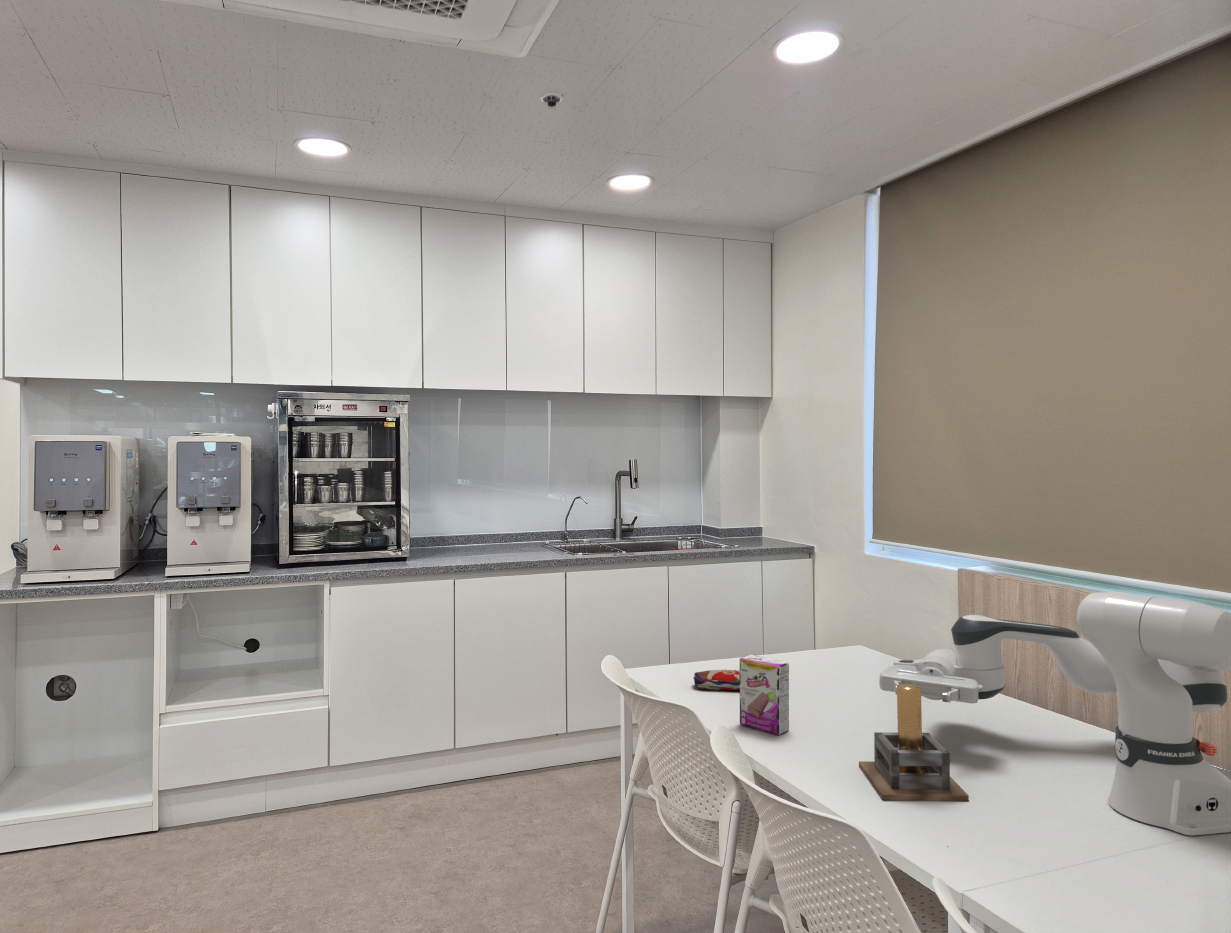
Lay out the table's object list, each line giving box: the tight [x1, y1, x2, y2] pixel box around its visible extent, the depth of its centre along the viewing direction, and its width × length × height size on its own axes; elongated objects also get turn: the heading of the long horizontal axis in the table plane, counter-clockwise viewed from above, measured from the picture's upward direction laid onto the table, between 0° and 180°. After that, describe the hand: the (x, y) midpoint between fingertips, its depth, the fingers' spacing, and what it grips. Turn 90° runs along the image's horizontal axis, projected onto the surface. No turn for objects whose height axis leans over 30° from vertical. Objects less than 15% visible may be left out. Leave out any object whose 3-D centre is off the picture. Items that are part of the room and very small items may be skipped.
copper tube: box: [896, 684, 923, 773], centre depth 153 cm, size 4×4×18 cm
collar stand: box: [858, 731, 970, 802], centre depth 153 cm, size 16×16×8 cm
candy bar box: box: [739, 654, 790, 736], centre depth 184 cm, size 11×5×16 cm, turn 47°
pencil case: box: [692, 669, 740, 691], centre depth 216 cm, size 11×20×5 cm, turn 66°
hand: (922, 694), depth 163 cm, fingers open, 8 cm apart
